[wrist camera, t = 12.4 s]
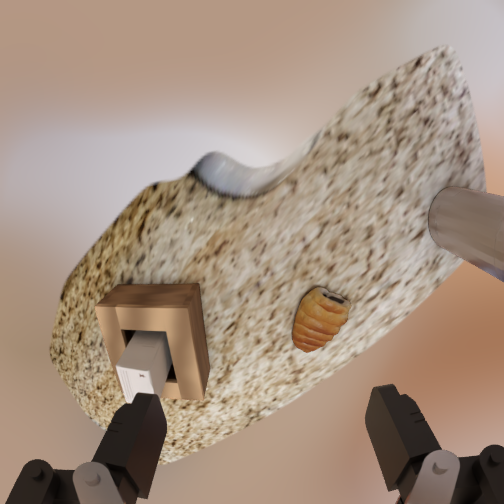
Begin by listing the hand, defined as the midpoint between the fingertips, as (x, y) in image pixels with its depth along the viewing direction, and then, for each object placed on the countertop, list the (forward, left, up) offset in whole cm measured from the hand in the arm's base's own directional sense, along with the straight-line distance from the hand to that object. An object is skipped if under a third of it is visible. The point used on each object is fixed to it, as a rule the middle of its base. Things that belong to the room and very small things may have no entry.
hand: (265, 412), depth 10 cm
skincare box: (+14, +14, -28) cm, 34 cm away
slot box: (+14, +13, -28) cm, 34 cm away
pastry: (-8, +11, -29) cm, 32 cm away
